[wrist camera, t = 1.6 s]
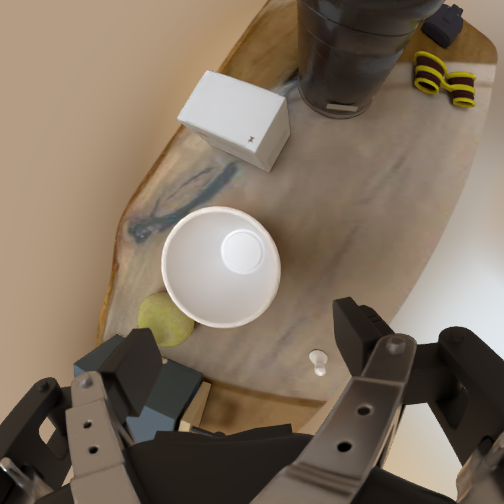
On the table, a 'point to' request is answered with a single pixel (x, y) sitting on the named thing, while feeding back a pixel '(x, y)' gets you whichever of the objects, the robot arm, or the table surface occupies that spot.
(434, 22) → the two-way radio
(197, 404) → the drawer
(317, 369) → the chess pawn
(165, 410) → the cabinet
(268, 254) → the cup
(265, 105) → the small box
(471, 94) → the opera glasses
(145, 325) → the fruit
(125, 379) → the robot arm
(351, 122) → the table surface
